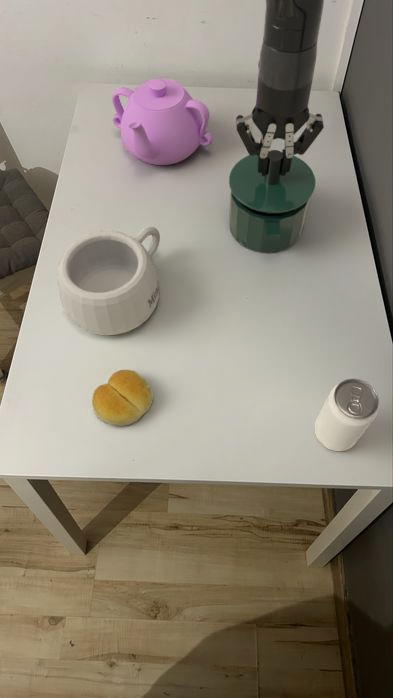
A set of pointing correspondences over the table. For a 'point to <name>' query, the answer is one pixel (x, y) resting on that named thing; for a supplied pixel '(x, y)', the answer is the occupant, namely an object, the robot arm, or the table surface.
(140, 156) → the teapot
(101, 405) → the bread roll
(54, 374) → the table surface
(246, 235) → the pot
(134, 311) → the mug
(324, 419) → the can
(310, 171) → the lid
